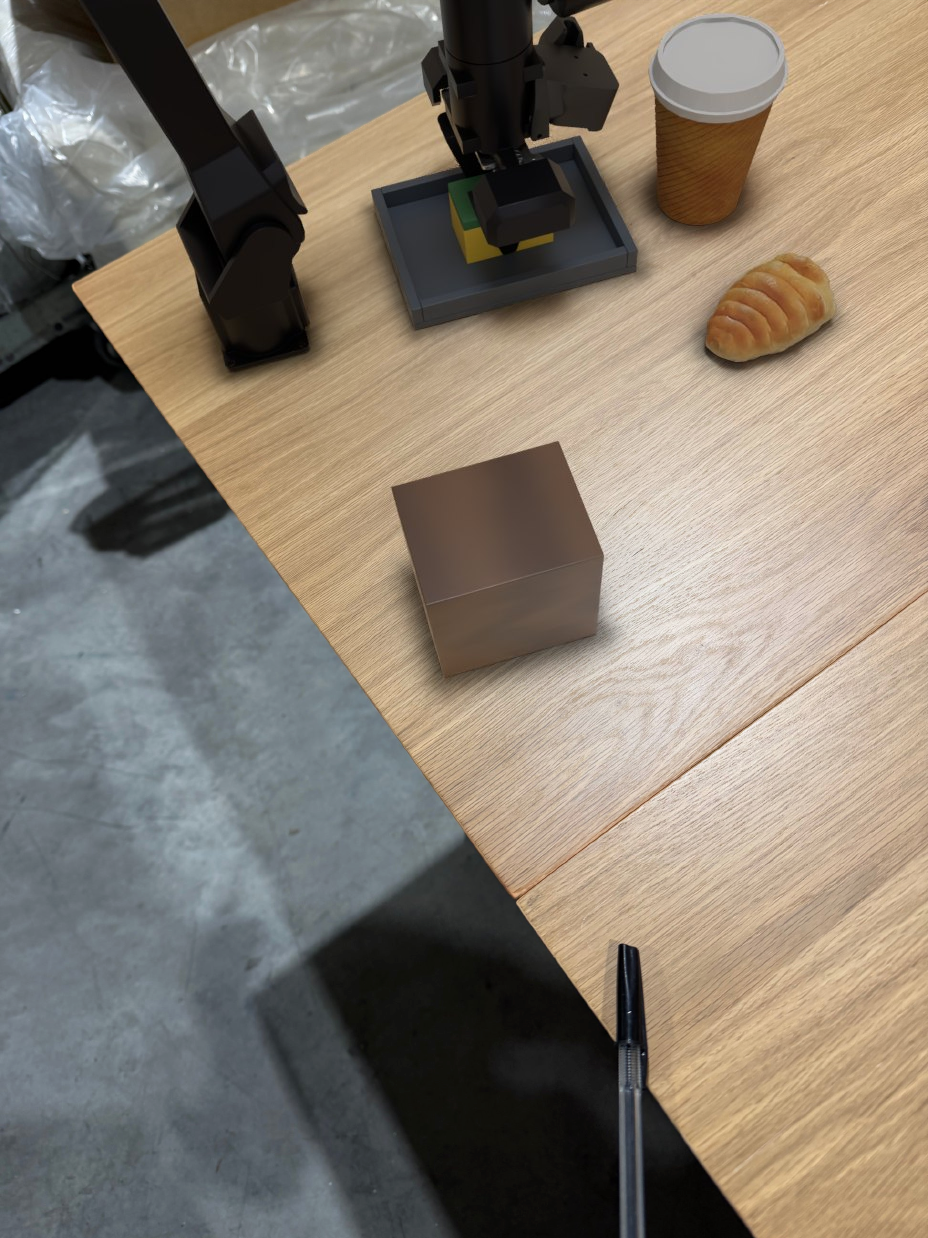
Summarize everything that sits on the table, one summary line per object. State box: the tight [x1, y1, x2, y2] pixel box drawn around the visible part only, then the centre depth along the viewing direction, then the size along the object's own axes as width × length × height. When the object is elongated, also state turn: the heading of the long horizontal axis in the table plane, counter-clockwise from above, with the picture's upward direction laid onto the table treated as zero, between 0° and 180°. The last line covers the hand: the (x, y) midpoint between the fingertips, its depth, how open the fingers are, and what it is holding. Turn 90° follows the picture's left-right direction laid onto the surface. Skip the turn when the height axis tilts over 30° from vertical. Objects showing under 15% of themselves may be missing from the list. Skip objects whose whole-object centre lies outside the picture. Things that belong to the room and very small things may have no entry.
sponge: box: [448, 164, 553, 264], centre depth 74 cm, size 7×4×4 cm, turn 105°
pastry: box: [705, 252, 837, 363], centre depth 69 cm, size 9×7×4 cm
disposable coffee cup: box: [648, 12, 789, 226], centre depth 71 cm, size 10×10×12 cm
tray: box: [370, 135, 639, 331], centre depth 75 cm, size 18×14×2 cm
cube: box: [390, 440, 605, 678], centre depth 58 cm, size 10×8×10 cm
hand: (500, 231), depth 76 cm, fingers closed on sponge, 4 cm apart
